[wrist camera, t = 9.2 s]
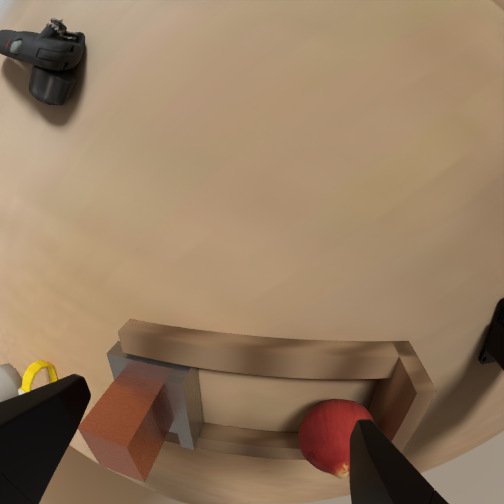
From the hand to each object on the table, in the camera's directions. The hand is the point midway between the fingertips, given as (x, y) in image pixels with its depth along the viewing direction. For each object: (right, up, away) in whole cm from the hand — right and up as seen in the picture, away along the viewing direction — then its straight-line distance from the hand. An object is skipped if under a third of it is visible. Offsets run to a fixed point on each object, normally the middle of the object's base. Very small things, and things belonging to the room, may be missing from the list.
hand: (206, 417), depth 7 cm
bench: (+2, -7, +14) cm, 16 cm away
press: (-7, -7, +15) cm, 18 cm away
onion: (+8, -8, +14) cm, 18 cm away
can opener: (-18, +24, +9) cm, 31 cm away
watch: (-23, -10, +19) cm, 31 cm away
